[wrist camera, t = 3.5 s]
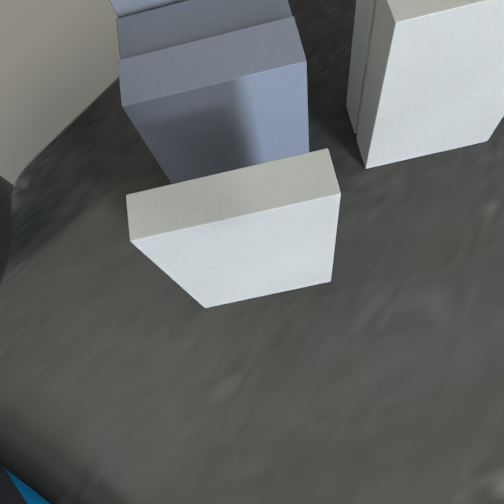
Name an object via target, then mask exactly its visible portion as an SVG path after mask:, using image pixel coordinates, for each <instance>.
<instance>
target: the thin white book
mask: <svg viewBox="0 0 504 504" xmlns="http://www.w3.org/2000/svg"><path fill="white" fill-rule="evenodd" d="M340 196H341V193H340V189H339V186H338V182H337V178H336V175H335V171H334V168H333V164H332V161H331V157H330V154H329V150H328V148H327V149H322V150H318V151H314V152H309V153H305V154H301V155H296V156H292V157H288V158H283V159H279V160H275V161H270V162H266V163H262V164H257V165H253V166H249V167H244V168H240V169H236V170H231V171H227V172H223V173H218V174H214V175H210V176H206V177H201V178H197V179H193V180H188V181H184V182H180V183H175V184H171V185H167V186H162V187H158V188H154V189H149V190H145V191H141V192H136V193H132V194H128V195H126V202H127V213H128V224H129V235H130V242H132V243H133V244H134V245H135V246H136V247H137V248H138V249H139V250H140V251H142V252H143V253H144V254H145V255H146V256H147V257H148V258H149V259H151V260H152V261H153V262H154V263H155V264H156V265H157V266H158V267H160V268H161V269H162V270H163V271H164V272H165V273H166V274H167V275H168V276H170V277H171V278H172V279H173V280H174V281H175V282H176V283H177V284H179V285H180V286H181V287H182V288H183V289H184V290H185V291H186V292H187V293H189V294H190V295H191V296H192V297H193V298H194V299H195V300H196V301H198V302H199V303H200V304H201V305H202V306H203V307H204V308H208V307H212V306H217V305H222V304H227V303H231V302H236V301H241V300H245V299H250V298H255V297H260V296H264V295H269V294H274V293H279V292H283V291H288V290H293V289H298V288H302V287H307V286H312V285H316V284H321V283H326V282H330V281H331V275H332V266H333V257H334V248H335V239H336V231H337V222H338V213H339V204H340Z"/></svg>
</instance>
